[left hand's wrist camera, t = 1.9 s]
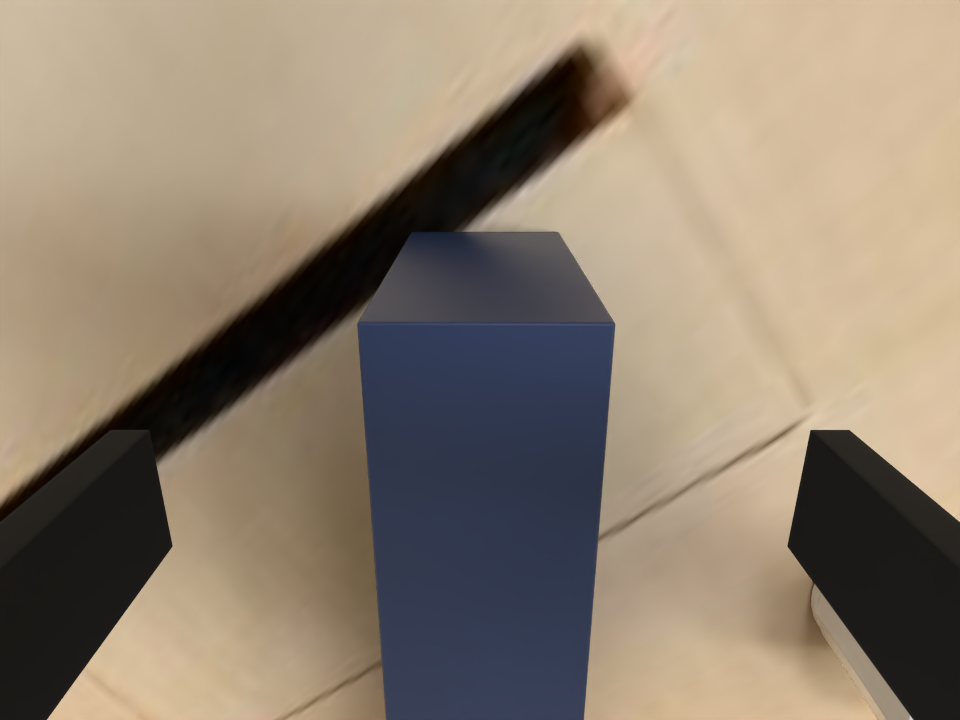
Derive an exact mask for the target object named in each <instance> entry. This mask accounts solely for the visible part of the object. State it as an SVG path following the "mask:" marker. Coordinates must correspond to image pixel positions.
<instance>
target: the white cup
mask: <svg viewBox="0 0 960 720" xmlns="http://www.w3.org/2000/svg"><path fill="white" fill-rule="evenodd" d="M811 608H812V613H813V616H814V618H815V621H816V623H817V624H818V626H819V628H820V629H821V632H822V635H823V636H824V638H825V639H826V641H827V642H828V644H829V645H830V647H831V648H832V650H833V652H834V653H835V655H836V656H837V658H838V659H839V661H840V662H841V664H842V665H843V667H844V669H845V670H846V672H847V673H848V675H849V676H850V678H851V679H852V681H853V682H854V684H855V686H856V687H857V689H858V690H859V692H860V693H861V695H862V696H863V698H864V699H865V701H866V703H867V704H868V706H869V707H870V709H871V710H872V712H873V713H874V715H875V716H876V718H877V719H878V720H913V719H912V717H911V716H910V715H909V713H908V712H907V710H906V709H905V708H904V706H903V705H902V704H901V702H900V701H899V699H898V698H897V697H896V695H895V694H894V693H893V691H892V690H891V688H890V687H889V686H888V684H887V683H886V681H885V680H884V679H883V677H882V676H881V675H880V673H879V672H878V670H877V669H876V668H875V666H874V665H873V664H872V662H871V661H870V659H869V658H868V657H867V655H866V654H865V653H864V651H863V650H862V648H861V647H860V646H859V644H858V643H857V641H856V640H855V639H854V637H853V636H852V635H851V633H850V632H849V630H848V629H847V628H846V626H845V625H844V624H843V622H842V621H841V619H840V618H839V617H838V615H837V614H836V613H835V611H834V610H833V608H832V607H831V606H830V604H829V603H828V601H827V600H826V599H825V597H824V596H823V595H822V593H821V592H820V590H819V589H818V588H817V586H816V585H815V584H814V586H813V589H812V595H811Z"/></svg>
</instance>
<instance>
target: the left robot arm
mask: <svg viewBox="0 0 960 720" xmlns="http://www.w3.org/2000/svg"><path fill="white" fill-rule="evenodd" d="M171 548H172V541H171V536H170V531H169V526H168V521H167V516H166V511H165V506H164V501H163V496H162V491H161V486H160V481H159V476H158V471H157V466H156V461H155V456H154V451H153V446H152V441H151V436H150V431H149V430H110V431H109V432H108V433H107V434H105V435H104V436H103V437H102V438H101V439H99V440H98V441H97V442H96V443H95V444H93V445H92V446H91V447H90V448H89V449H88V450H86V451H85V452H84V453H83V454H82V455H80V456H79V457H78V458H77V459H76V460H74V461H73V462H72V463H71V464H70V465H68V466H67V467H66V468H65V469H64V470H62V471H61V472H60V473H59V474H58V475H56V476H55V477H54V478H53V479H52V480H50V481H49V482H48V483H47V484H46V485H44V486H43V487H42V488H41V489H40V490H38V491H37V492H36V493H35V494H34V495H32V496H31V497H30V498H29V499H28V500H26V501H25V502H24V503H23V504H22V505H20V506H19V507H18V508H17V509H16V510H14V511H13V512H12V513H11V514H10V515H8V516H7V517H6V518H5V519H4V520H2V521H1V522H0V720H47V719H48V717H49V716H50V715H51V713H52V712H53V710H54V709H55V708H56V706H57V705H58V704H59V702H60V701H61V699H62V698H63V697H64V695H65V694H66V693H67V691H68V690H69V688H70V687H71V686H72V684H73V683H74V681H75V680H76V679H77V677H78V676H79V675H80V673H81V672H82V670H83V669H84V668H85V666H86V665H87V664H88V662H89V661H90V659H91V658H92V657H93V655H94V654H95V653H96V651H97V650H98V648H99V647H100V646H101V644H102V643H103V641H104V640H105V639H106V637H107V636H108V635H109V633H110V632H111V630H112V629H113V628H114V626H115V625H116V624H117V622H118V621H119V619H120V618H121V617H122V615H123V614H124V613H125V611H126V610H127V608H128V607H129V606H130V604H131V603H132V601H133V600H134V599H135V597H136V596H137V595H138V593H139V592H140V590H141V589H142V588H143V586H144V585H145V584H146V582H147V581H148V579H149V578H150V577H151V575H152V574H153V573H154V571H155V570H156V568H157V567H158V566H159V564H160V563H161V561H162V560H163V559H164V557H165V556H166V555H167V553H168V552H169V550H170V549H171ZM788 548H789V549H790V550H791V552H792V553H793V555H794V556H795V557H796V559H797V560H798V562H799V563H800V564H801V566H802V567H803V568H804V570H805V571H806V573H807V574H808V575H809V577H810V578H811V579H812V581H813V582H814V584H815V585H816V586H817V588H818V589H819V590H820V592H821V593H822V595H823V596H824V597H825V599H826V600H827V601H828V603H829V604H830V606H831V607H832V608H833V610H834V611H835V613H836V614H837V615H838V617H839V618H840V619H841V621H842V622H843V624H844V625H845V626H846V628H847V629H848V630H849V632H850V633H851V635H852V636H853V637H854V639H855V640H856V641H857V643H858V644H859V646H860V647H861V648H862V650H863V651H864V653H865V654H866V655H867V657H868V658H869V659H870V661H871V662H872V664H873V665H874V666H875V668H876V669H877V670H878V672H879V673H880V675H881V676H882V677H883V679H884V680H885V681H886V683H887V684H888V686H889V687H890V688H891V690H892V691H893V693H894V694H895V695H896V697H897V698H898V699H899V701H900V702H901V704H902V705H903V706H904V708H905V709H906V710H907V712H908V713H909V715H910V716H911V717H912V719H913V720H960V522H959V521H958V520H956V519H955V518H954V517H953V516H952V515H950V514H949V513H948V512H947V511H946V510H944V509H943V508H942V507H941V506H940V505H938V504H937V503H936V502H935V501H934V500H932V499H931V498H930V497H929V496H928V495H926V494H925V493H924V492H923V491H922V490H920V489H919V488H918V487H917V486H916V485H914V484H913V483H912V482H911V481H910V480H908V479H907V478H906V477H905V476H904V475H902V474H901V473H900V472H899V471H898V470H896V469H895V468H894V467H893V466H892V465H890V464H889V463H888V462H887V461H886V460H884V459H883V458H882V457H881V456H880V455H878V454H877V453H876V452H875V451H874V450H872V449H871V448H870V447H869V446H868V445H866V444H865V443H864V442H863V441H862V440H861V439H859V438H858V437H857V436H856V435H855V434H853V433H852V432H851V431H850V430H811V431H810V436H809V441H808V446H807V451H806V456H805V461H804V466H803V471H802V476H801V481H800V486H799V491H798V496H797V501H796V506H795V511H794V516H793V521H792V526H791V531H790V536H789V541H788Z"/></svg>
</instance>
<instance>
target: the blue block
mask: <svg viewBox="0 0 960 720" xmlns="http://www.w3.org/2000/svg"><path fill="white" fill-rule="evenodd" d="M357 325H358V339H359V353H360V367H361V381H362V394H363V408H364V422H365V436H366V450H367V463H368V477H369V491H370V505H371V519H372V532H373V546H374V560H375V574H376V587H377V601H378V615H379V629H380V643H381V656H382V670H383V684H384V698H385V712H386V720H584V709H585V697H586V684H587V672H588V659H589V647H590V634H591V622H592V609H593V597H594V584H595V572H596V559H597V547H598V534H599V522H600V509H601V497H602V484H603V472H604V459H605V447H606V434H607V422H608V409H609V397H610V384H611V372H612V359H613V347H614V334H615V323H614V321H613V319H612V318H611V316H610V315H609V313H608V311H607V310H606V308H605V307H604V305H603V303H602V302H601V300H600V298H599V297H598V295H597V294H596V292H595V290H594V289H593V287H592V286H591V284H590V282H589V281H588V279H587V278H586V276H585V274H584V273H583V271H582V269H581V268H580V266H579V265H578V263H577V261H576V260H575V258H574V257H573V255H572V253H571V252H570V250H569V248H568V247H567V245H566V244H565V242H564V240H563V239H562V237H561V236H560V234H559V233H558V232H412V233H411V234H410V236H409V238H408V239H407V241H406V243H405V244H404V246H403V248H402V249H401V251H400V253H399V255H398V256H397V258H396V260H395V261H394V263H393V265H392V266H391V268H390V270H389V271H388V273H387V275H386V276H385V278H384V280H383V281H382V283H381V285H380V286H379V288H378V290H377V291H376V293H375V295H374V297H373V298H372V300H371V302H370V303H369V305H368V307H367V308H366V310H365V312H364V313H363V315H362V317H361V318H360V320H359V322H358V324H357Z"/></svg>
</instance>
